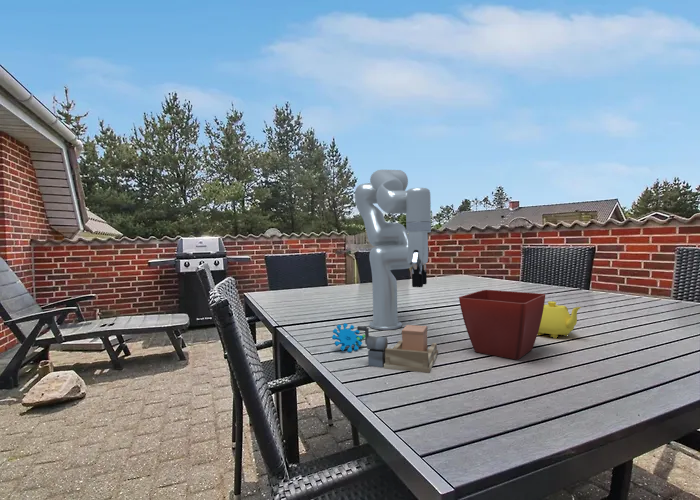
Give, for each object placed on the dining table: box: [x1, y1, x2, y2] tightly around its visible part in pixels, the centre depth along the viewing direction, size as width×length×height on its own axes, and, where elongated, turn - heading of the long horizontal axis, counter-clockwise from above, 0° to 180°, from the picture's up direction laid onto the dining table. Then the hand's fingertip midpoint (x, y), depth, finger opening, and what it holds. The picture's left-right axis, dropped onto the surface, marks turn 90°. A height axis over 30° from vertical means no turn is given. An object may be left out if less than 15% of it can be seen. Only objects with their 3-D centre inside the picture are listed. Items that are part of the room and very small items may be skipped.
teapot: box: [538, 301, 582, 339], centre depth 130 cm, size 20×15×12 cm
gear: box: [331, 322, 365, 353], centre depth 120 cm, size 11×6×10 cm
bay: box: [356, 325, 439, 373], centre depth 108 cm, size 17×20×10 cm
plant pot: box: [458, 289, 546, 360], centre depth 113 cm, size 19×19×17 cm
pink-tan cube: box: [401, 324, 429, 351], centre depth 110 cm, size 7×6×7 cm
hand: (419, 285), depth 118 cm, fingers open, 6 cm apart
